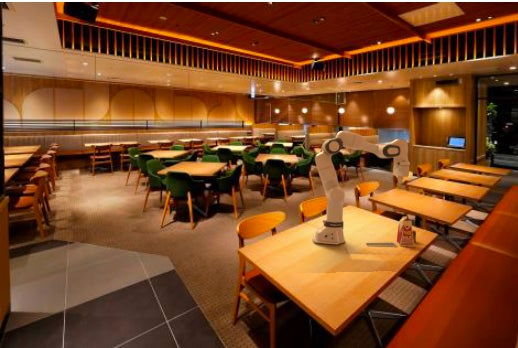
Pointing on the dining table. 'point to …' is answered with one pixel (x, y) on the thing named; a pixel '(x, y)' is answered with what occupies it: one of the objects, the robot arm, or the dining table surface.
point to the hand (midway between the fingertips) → (400, 182)
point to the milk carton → (405, 233)
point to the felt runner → (382, 244)
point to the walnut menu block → (414, 235)
